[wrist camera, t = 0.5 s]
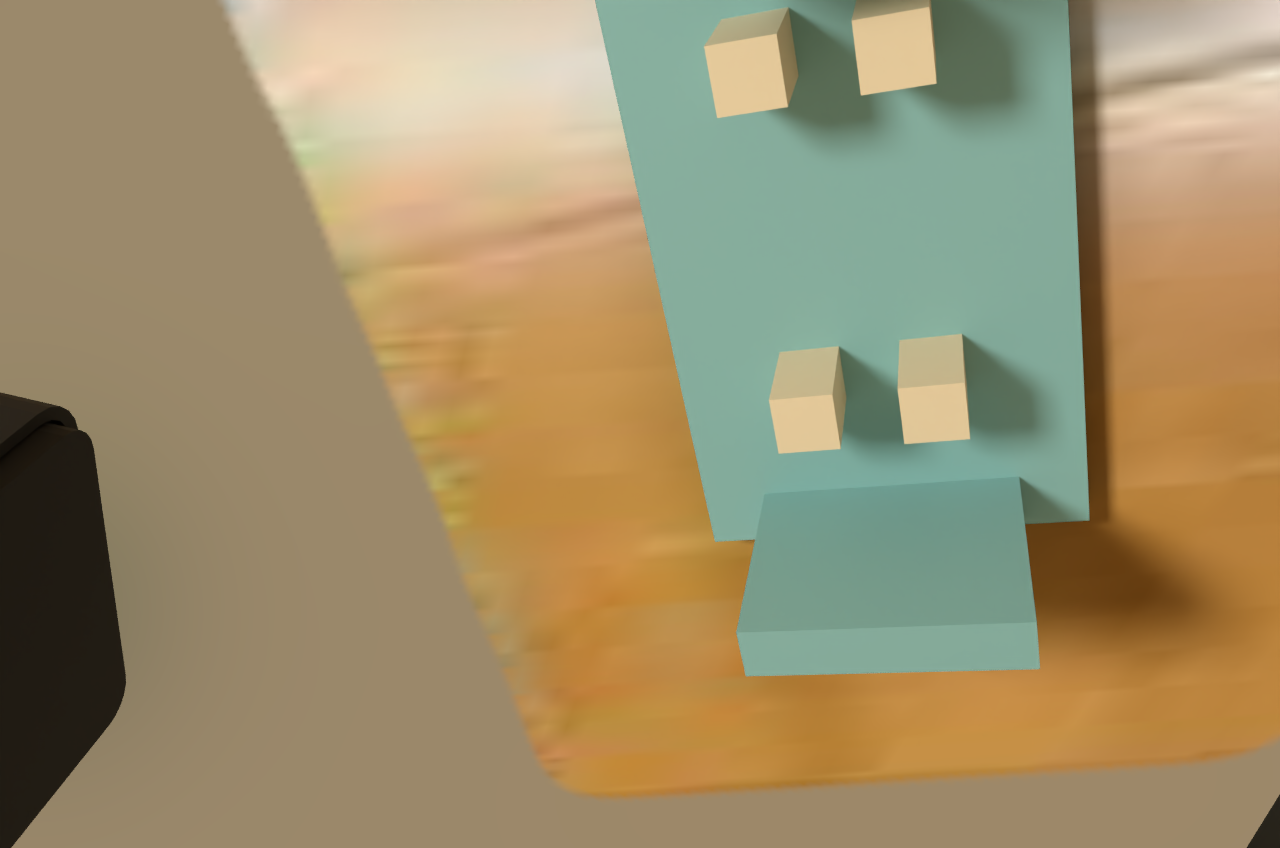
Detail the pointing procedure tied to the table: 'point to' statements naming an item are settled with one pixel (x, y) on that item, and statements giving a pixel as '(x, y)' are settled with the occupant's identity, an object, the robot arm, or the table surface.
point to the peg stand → (868, 308)
